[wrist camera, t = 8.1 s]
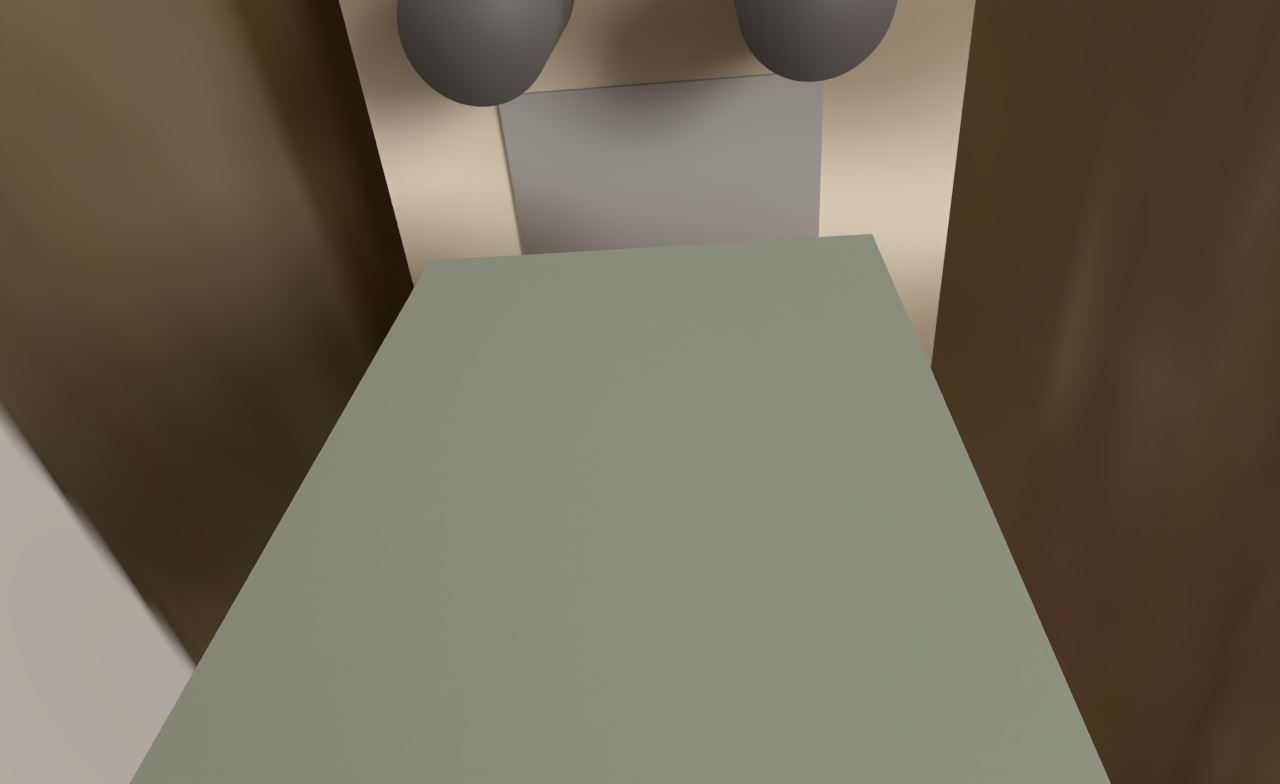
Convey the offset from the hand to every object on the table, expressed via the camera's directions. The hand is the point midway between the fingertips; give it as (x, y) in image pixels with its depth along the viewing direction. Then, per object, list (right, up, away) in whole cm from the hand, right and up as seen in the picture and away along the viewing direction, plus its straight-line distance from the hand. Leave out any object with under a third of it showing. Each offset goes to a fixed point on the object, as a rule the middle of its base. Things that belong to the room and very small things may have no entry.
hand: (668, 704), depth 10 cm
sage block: (0, +2, +2) cm, 3 cm away
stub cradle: (0, +6, +8) cm, 10 cm away
